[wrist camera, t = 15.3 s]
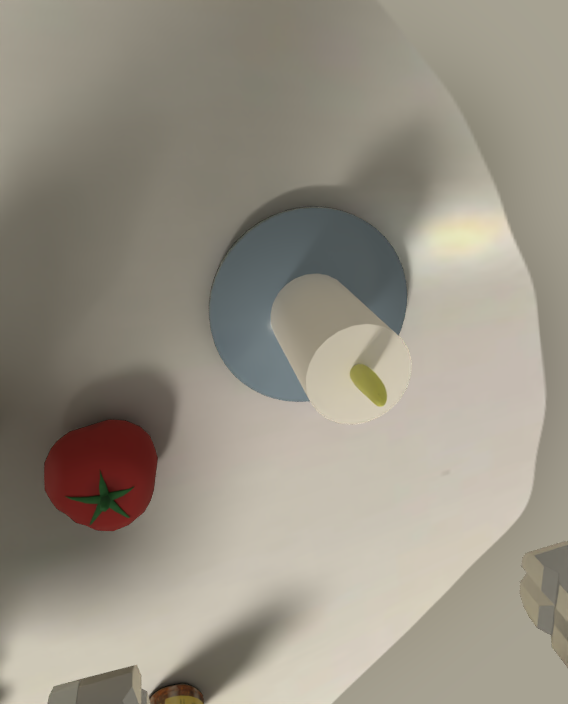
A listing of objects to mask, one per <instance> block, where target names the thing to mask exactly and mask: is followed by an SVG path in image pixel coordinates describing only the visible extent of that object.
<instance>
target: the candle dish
mask: <svg viewBox="0 0 568 704" xmlns="http://www.w3.org/2000/svg"><path fill="white" fill-rule="evenodd" d="M316 273H317V274H323V275H328V276H330V277H332V278H334V279H337V280H338V281H339V282H340V283H341V284H342V285H343V286H344V287H346V288H347V289H348V290H349V291H350V292H351V293H352V294H353V295H354V296H355V297H357V298H358V299H359V300H360V301H361V302H362V303H363V304H364V305H365V306H366V307H368V308H369V309H370V310H371V311H372V312H373V313H374V314H375V315H376V316H377V317H378V318H380V319H381V320H382V321H383V322H384V323H385V324H386V325H387V326H388V327H389V328H391V329H392V330H393V331H394V332H395V333H396V334H397V335H398V336H399V333H400V331H401V328H402V325H403V321H404V318H405V312H406V306H407V289H406V280H405V276H404V271H403V268H402V265H401V263H400V260H399V258H398V256H397V254H396V252H395V251H394V249H393V247H392V246H391V245H390V243H389V242H388V241H387V239H386V238H385V237H384V236H383V235H382V234H381V233H380V232H379V231H378V230H377V229H376V228H374V227H373V226H371V225H370V224H369V223H367V222H366V221H364V220H362V219H360V218H358V217H356V216H354V215H352V214H350V213H347V212H344V211H341V210H338V209H333V208H328V207H312V206H311V207H301V208H295V209H291V210H286V211H283V212H280V213H278V214H275V215H273V216H270V217H268V218H267V219H265V220H263V221H261V222H259V223H258V224H256V225H255V226H254V227H252V228H251V229H249V230H248V231H247V232H246V233H245V234H244V235H243V236H242V237H240V238H239V239H238V240H237V241H236V243H235V244H234V245H233V246H232V247H231V249H230V250H229V251H228V252H227V254H226V256H225V257H224V259H223V261H222V262H221V264H220V266H219V268H218V271H217V273H216V275H215V278H214V281H213V285H212V288H211V293H210V300H209V320H210V328H211V332H212V336H213V339H214V343H215V346H216V348H217V350H218V352H219V355H220V357H221V358H222V360H223V361H224V363H225V365H226V366H227V367H228V368H229V370H230V371H231V372H232V373H233V374H234V375H235V376H236V377H237V378H238V379H239V380H240V381H241V382H242V383H244V384H245V385H247V386H248V387H250V388H251V389H253V390H255V391H257V392H259V393H261V394H263V395H265V396H268V397H271V398H274V399H279V400H284V401H294V402H304V401H310V400H309V399H308V397H307V395H306V393H305V391H304V389H303V387H302V385H301V384H300V382H299V380H298V378H297V376H296V374H295V372H294V370H293V368H292V367H291V365H290V363H289V361H288V359H287V357H286V355H285V353H284V352H283V350H282V348H281V346H280V344H279V342H278V340H277V338H276V337H275V335H274V332H273V329H272V326H271V315H270V314H271V310H272V305H273V302H274V300H275V298H276V296H277V294H278V293H279V292H280V291H281V290H282V288H283V287H284V286H285V285H286V284H288V283H289V282H291V281H292V280H294V279H295V278H298V277H300V276H303V275H307V274H316Z"/></svg>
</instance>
